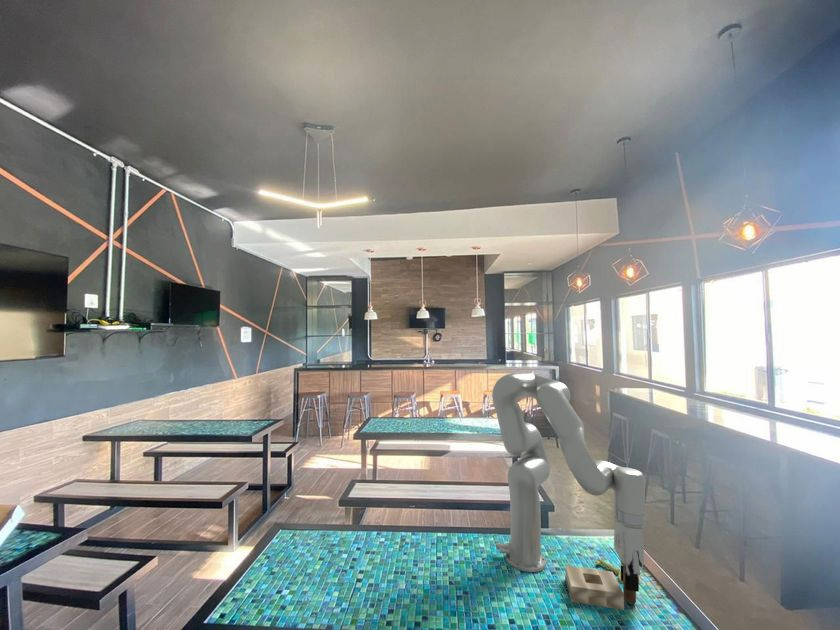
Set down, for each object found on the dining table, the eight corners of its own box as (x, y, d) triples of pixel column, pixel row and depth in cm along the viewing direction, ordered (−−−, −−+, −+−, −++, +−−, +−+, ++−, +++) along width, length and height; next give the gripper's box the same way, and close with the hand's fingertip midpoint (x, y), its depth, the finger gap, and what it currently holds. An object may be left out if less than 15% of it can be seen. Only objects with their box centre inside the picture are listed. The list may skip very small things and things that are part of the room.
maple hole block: (571, 601, 100) (571, 586, 101) (565, 579, 110) (565, 565, 110) (624, 610, 98) (623, 593, 98) (613, 586, 107) (612, 571, 108)
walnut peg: (625, 602, 99) (625, 563, 100) (621, 595, 102) (621, 557, 103) (637, 605, 99) (637, 565, 99) (633, 597, 101) (633, 559, 102)
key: (596, 563, 119) (596, 556, 120) (640, 579, 112) (640, 571, 112) (591, 574, 114) (590, 566, 114) (636, 591, 106) (636, 583, 106)
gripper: (606, 501, 111) (606, 566, 109) (623, 528, 95) (624, 603, 93) (633, 505, 109) (634, 570, 108) (656, 532, 93) (657, 609, 92)
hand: (629, 585), depth 101 cm, fingers closed on walnut peg, 2 cm apart
